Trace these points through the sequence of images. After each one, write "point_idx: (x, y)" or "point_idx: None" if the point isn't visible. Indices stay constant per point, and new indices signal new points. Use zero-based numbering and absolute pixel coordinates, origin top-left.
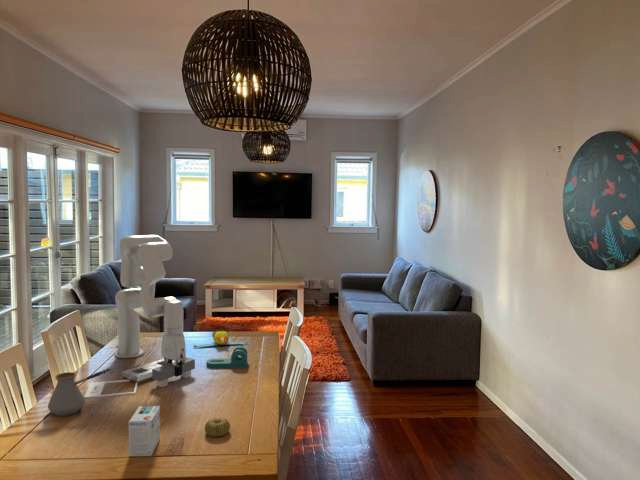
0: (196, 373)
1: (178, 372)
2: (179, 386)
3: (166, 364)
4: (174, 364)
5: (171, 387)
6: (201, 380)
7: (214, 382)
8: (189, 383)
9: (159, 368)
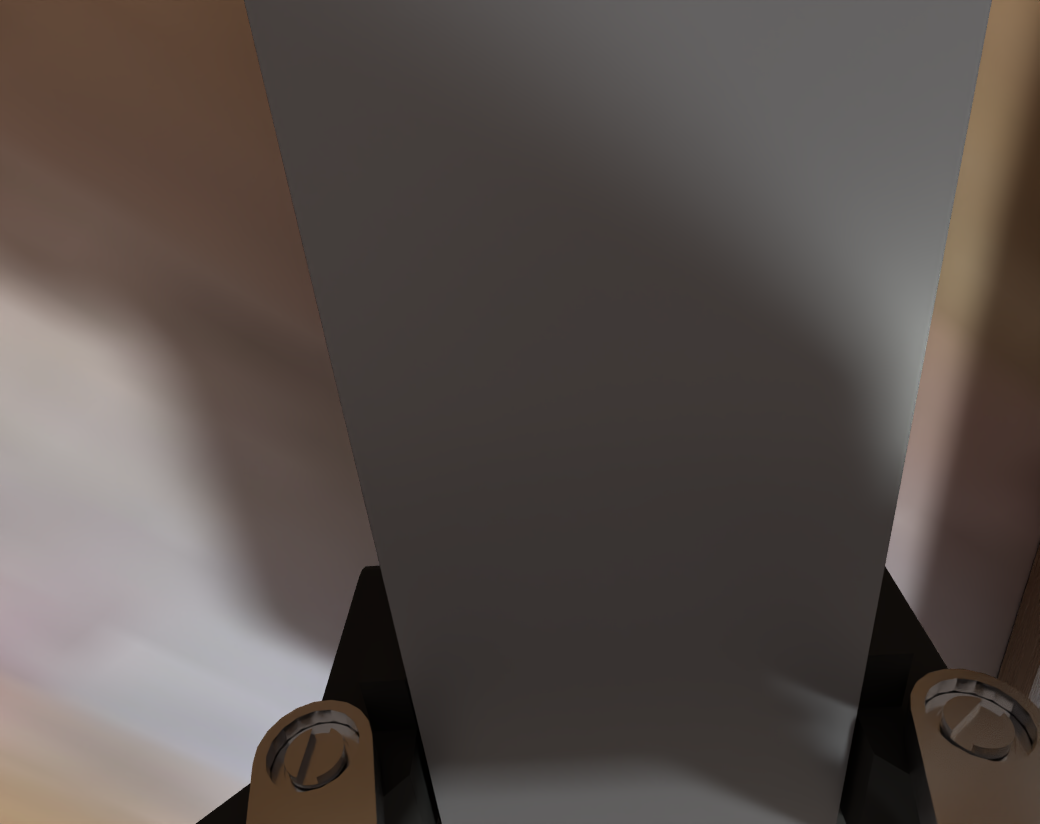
0: None
1: (355, 594)
2: (223, 342)
3: (854, 643)
4: (594, 780)
5: (282, 191)
6: (247, 707)
7: (40, 758)
8: (249, 539)
9: (696, 139)
